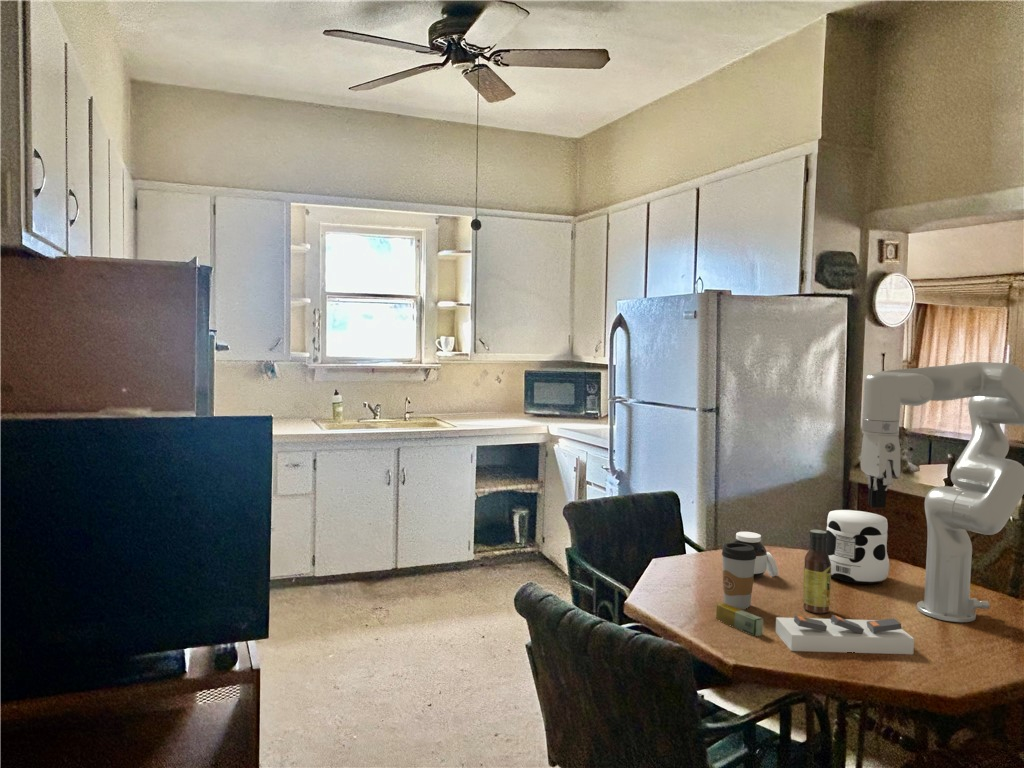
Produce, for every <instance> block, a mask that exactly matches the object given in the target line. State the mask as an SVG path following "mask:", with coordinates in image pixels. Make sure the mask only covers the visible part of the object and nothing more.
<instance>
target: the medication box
mask: <svg viewBox="0 0 1024 768" xmlns="http://www.w3.org/2000/svg"><path fill="white" fill-rule="evenodd" d="M715 613H716V614H715V620H716V619H717V620H716V621H718V620H720V621H722V622H721V623H723V622H724V623H723V624H725V623H726V624H725V625H727V624H728V625H727V626H729V625H731V626H730V627H732V626H733V627H732V628H734V627H735V629H736V628H737V629H736V630H738V629H739V630H738V631H741V630H742V631H741V632H743V631H744V632H743V633H745V632H747V633H746V634H748V633H749V634H748V635H750V634H751V635H750V636H752V635H753V636H752V637H754V636H757V637H759V636H758V635H761V636H762V635H763V630H764V618H763V617H761V616H758V615H755V614H753V613H751V612H748V611H746V610H744V609H738V608H735V607H733V606H730V605H728V604H725V602H722V603H717V604H716V612H715ZM720 621H719V622H720Z"/></svg>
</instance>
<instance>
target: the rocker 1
mask: <svg viewBox="0 0 1024 768" xmlns="http://www.w3.org/2000/svg"><path fill="white" fill-rule="evenodd" d="M793 618H794V622H795V623H796V624H797V625H798V626H801V627H806V628H811V629H816V630H821V631H826V629H827V626H826V625H825V624H824V623H823V622H822V621H819V620H814V619H809V617H804V616H800V615H794V617H793Z"/></svg>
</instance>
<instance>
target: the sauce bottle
mask: <svg viewBox="0 0 1024 768" xmlns="http://www.w3.org/2000/svg"><path fill="white" fill-rule="evenodd" d="M826 539H827V530H823V529H822V530H821V529H811V530H809V550H808V551H807V552H806V554H805V556H804V567H803V582H802V585H803V588H802V589H803V590H802V593H803V594H802V602H803V609H804V610H806V611H807V612H810V613H813V614H826V613H828V612H829V611H830V606H831V581H832V576H831V562H830V559H829V556H828V553H827V549H826Z"/></svg>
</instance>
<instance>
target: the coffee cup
mask: <svg viewBox="0 0 1024 768" xmlns="http://www.w3.org/2000/svg"><path fill="white" fill-rule="evenodd" d="M721 556H722V588H723V589H722V590H723V603H725V604H728V605H730V606H733V607H735V608H738V609H740V610H746V608H747V609H748V607H750V606H751V601H752V593H753V587H754V579H755V578H754V566H755V559H756V552H755V551H754V547H753V546H751V545H748V544H743V543H733V542H727V543H724V545H723V548H722V549H721Z"/></svg>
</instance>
